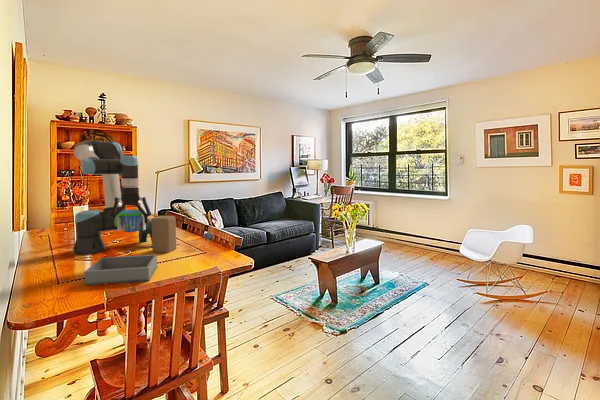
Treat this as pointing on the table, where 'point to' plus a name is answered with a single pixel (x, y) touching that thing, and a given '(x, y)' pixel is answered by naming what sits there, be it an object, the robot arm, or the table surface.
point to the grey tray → (121, 270)
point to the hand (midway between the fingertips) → (131, 229)
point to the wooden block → (163, 233)
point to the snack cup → (130, 220)
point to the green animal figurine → (145, 231)
